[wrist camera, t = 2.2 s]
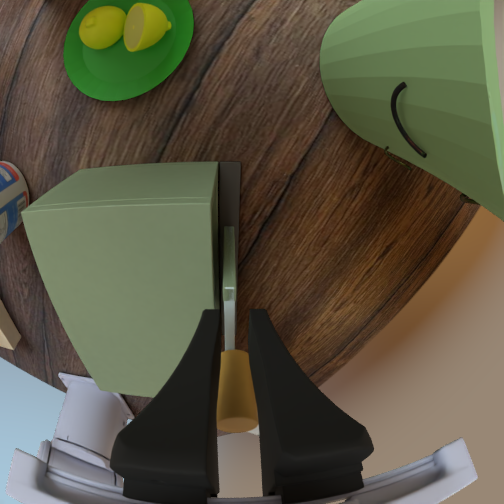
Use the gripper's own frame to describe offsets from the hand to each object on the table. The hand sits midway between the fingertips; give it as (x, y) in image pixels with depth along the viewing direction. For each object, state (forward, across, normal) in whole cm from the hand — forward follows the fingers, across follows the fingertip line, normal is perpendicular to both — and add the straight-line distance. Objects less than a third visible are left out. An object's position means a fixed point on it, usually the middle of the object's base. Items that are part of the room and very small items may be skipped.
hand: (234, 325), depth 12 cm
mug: (+8, -11, -11) cm, 17 cm away
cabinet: (+8, +5, +2) cm, 10 cm away
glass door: (+7, 0, +2) cm, 8 cm away
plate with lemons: (+8, +6, -13) cm, 17 cm away
